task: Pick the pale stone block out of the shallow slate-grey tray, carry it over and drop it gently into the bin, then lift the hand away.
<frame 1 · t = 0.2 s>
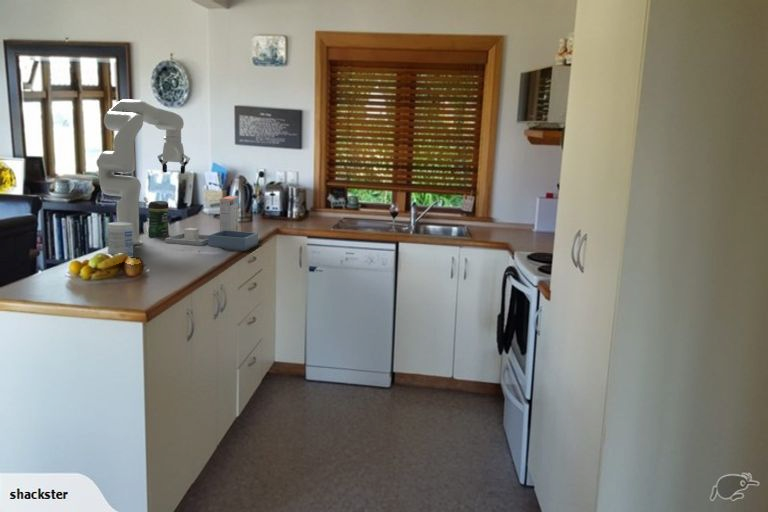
hand: (173, 172, 321), 31 cm above the countertop, fingers open, 9 cm apart
coffee jar: (158, 238, 304), on the countertop
stone block: (191, 241, 295), point 1 cm above the countertop, touching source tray
supplement tub: (120, 259, 253), on the countertop
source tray: (191, 243, 295), on the countertop
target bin: (233, 246, 294), on the countertop
cracker box: (228, 237, 319), on the countertop
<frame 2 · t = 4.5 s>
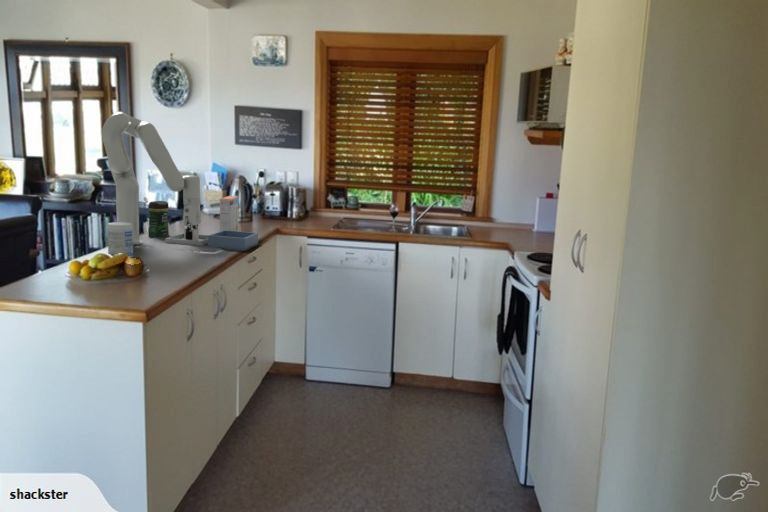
hand: (191, 238, 295), 2 cm above the countertop, fingers closed on stone block, 5 cm apart
stone block: (191, 241, 295), point 1 cm above the countertop, touching gripper, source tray
everything else where it was.
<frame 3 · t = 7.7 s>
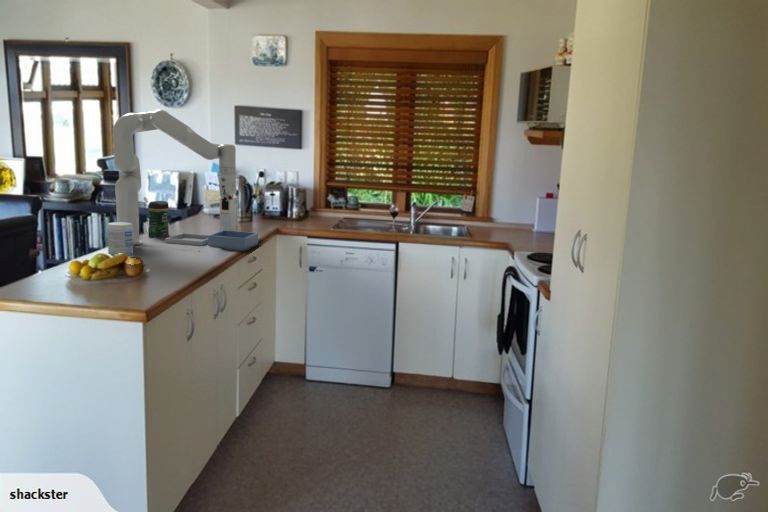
hand: (227, 208, 291), 18 cm above the countertop, fingers closed on stone block, 5 cm apart
stone block: (227, 211, 291), point 17 cm above the countertop, touching gripper
everything else where it was.
when the fingers open (4 cm above the countertop, at t = 10.9 s): stone block drops 2 cm, resting on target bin.
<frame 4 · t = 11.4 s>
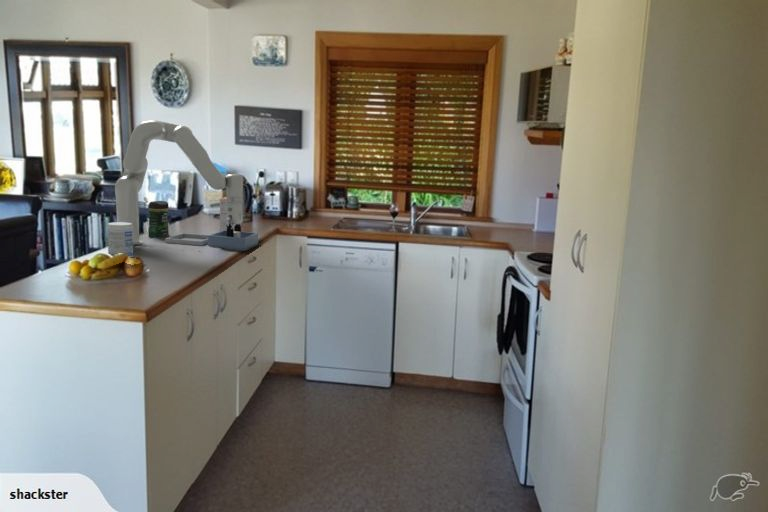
hand: (233, 235, 293), 5 cm above the countertop, fingers open, 9 cm apart
stone block: (233, 244, 294), point 1 cm above the countertop, touching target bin
everything else where it was.
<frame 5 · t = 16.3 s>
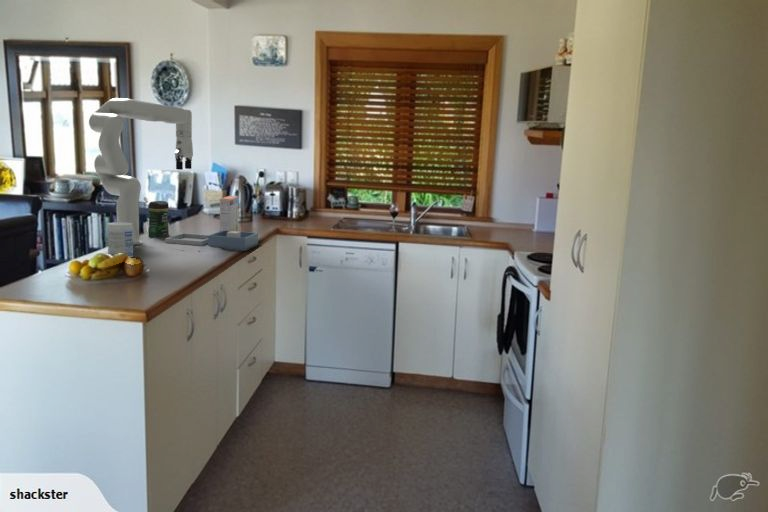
hand: (183, 169, 307), 34 cm above the countertop, fingers open, 9 cm apart
nothing on the countertop moved.
at the end: stone block inside the target area on the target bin (0.1 cm from its centre), point 1.0 cm above the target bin's base; the gripper is holding nothing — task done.
